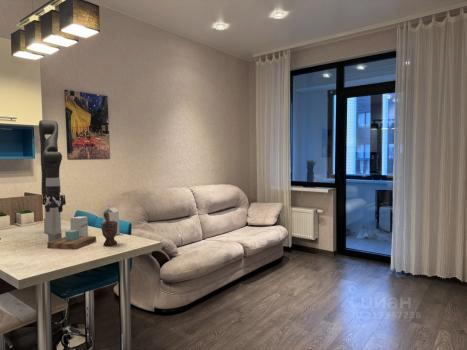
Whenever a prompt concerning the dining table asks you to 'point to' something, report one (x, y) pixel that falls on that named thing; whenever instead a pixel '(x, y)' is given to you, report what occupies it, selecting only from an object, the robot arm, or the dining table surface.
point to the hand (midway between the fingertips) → (54, 212)
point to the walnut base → (71, 242)
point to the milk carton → (113, 215)
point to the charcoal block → (54, 236)
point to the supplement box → (80, 225)
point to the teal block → (72, 235)
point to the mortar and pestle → (109, 230)
